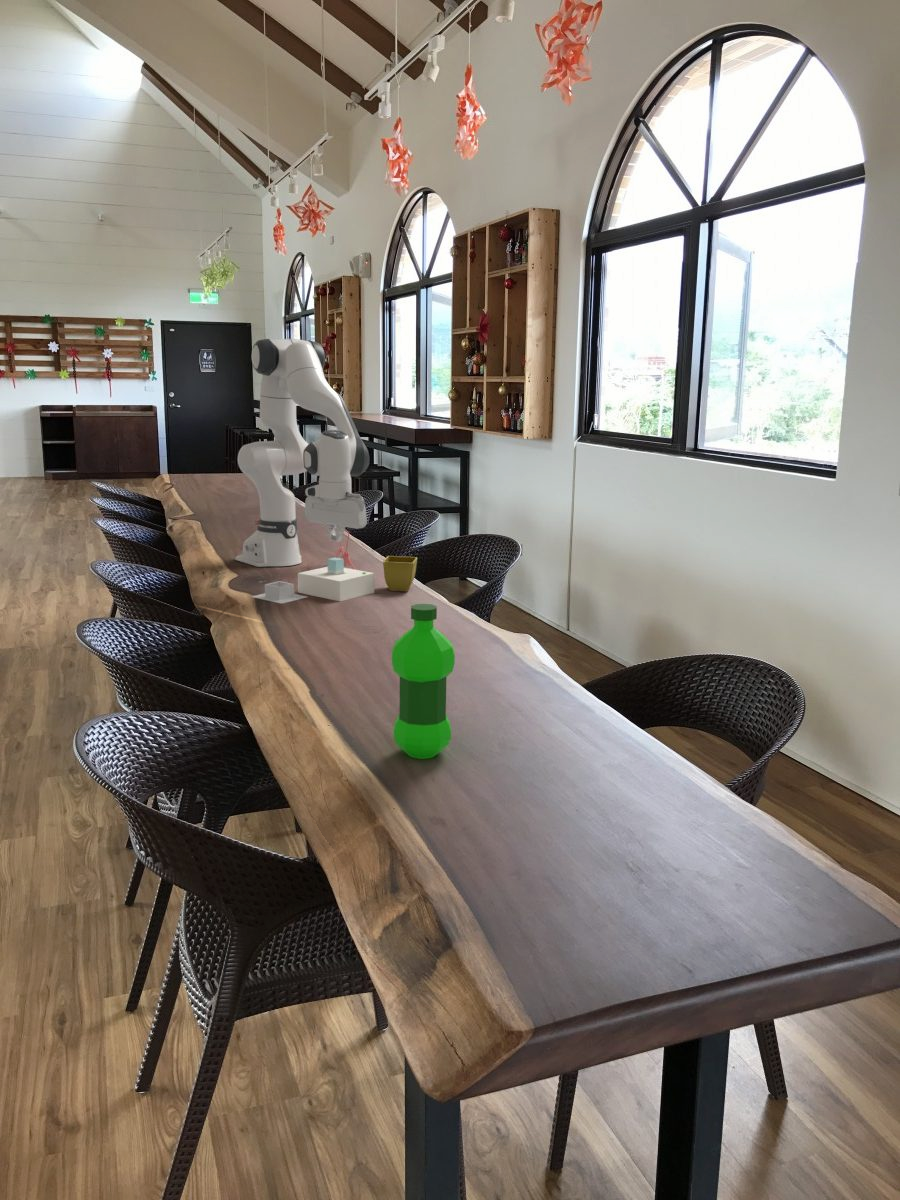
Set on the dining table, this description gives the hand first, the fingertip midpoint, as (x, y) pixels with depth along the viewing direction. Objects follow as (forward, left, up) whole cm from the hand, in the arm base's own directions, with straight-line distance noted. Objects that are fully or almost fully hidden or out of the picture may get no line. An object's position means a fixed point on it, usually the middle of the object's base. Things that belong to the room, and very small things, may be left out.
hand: (335, 541), depth 264 cm
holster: (-8, -14, -15) cm, 22 cm away
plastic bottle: (+89, -74, -15) cm, 117 cm away
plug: (0, 0, -14) cm, 14 cm away
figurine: (-25, +24, -15) cm, 38 cm away
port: (0, 0, -15) cm, 15 cm away
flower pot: (+10, +16, -15) cm, 24 cm away
